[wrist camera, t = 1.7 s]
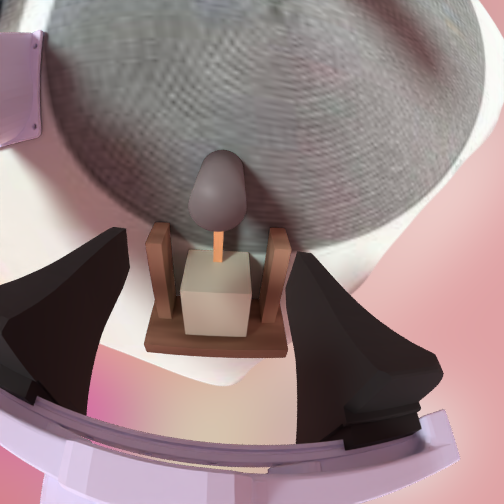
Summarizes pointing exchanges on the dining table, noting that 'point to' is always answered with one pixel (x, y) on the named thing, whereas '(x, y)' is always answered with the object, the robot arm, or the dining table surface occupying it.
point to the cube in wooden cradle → (252, 346)
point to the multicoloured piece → (217, 253)
